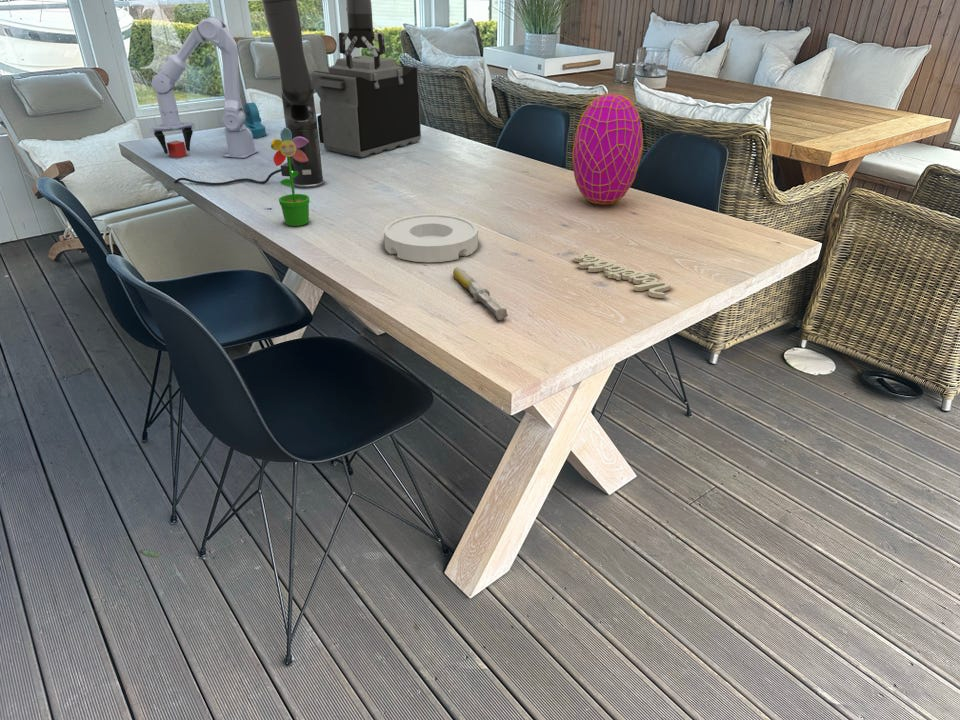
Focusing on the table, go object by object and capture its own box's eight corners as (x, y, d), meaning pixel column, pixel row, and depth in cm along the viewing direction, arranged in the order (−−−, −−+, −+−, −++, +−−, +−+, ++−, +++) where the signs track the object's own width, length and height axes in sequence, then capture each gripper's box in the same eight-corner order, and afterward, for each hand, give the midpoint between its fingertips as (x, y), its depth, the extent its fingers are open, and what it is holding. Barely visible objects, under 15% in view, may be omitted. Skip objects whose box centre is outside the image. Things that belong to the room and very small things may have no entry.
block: (187, 155, 243) (184, 141, 241) (177, 158, 240) (174, 144, 238) (179, 154, 245) (176, 140, 242) (169, 156, 242) (166, 142, 239)
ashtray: (391, 227, 181) (390, 212, 179) (479, 229, 180) (479, 214, 178) (377, 261, 161) (376, 245, 159) (476, 263, 160) (476, 247, 158)
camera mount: (228, 130, 277) (223, 103, 272) (254, 127, 282) (250, 100, 277) (243, 139, 265) (238, 110, 259) (269, 136, 270) (266, 108, 264)
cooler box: (383, 133, 276) (378, 52, 261) (425, 141, 265) (422, 56, 250) (314, 150, 251) (304, 61, 235) (358, 160, 240) (350, 67, 224)
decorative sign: (686, 282, 150) (660, 295, 144) (686, 286, 150) (659, 300, 144) (592, 249, 166) (565, 259, 160) (592, 253, 167) (565, 263, 161)
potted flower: (284, 229, 179) (270, 130, 166) (277, 220, 185) (263, 124, 172) (319, 224, 183) (308, 127, 170) (311, 215, 188) (300, 121, 176)
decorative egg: (611, 217, 189) (624, 103, 174) (555, 202, 201) (562, 94, 185) (647, 202, 202) (662, 94, 186) (592, 188, 213) (602, 86, 198)
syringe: (449, 274, 155) (449, 263, 153) (465, 272, 156) (464, 260, 154) (490, 323, 135) (491, 310, 133) (508, 319, 136) (508, 307, 134)
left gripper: (149, 115, 228) (158, 157, 235) (194, 111, 236) (201, 151, 243) (144, 112, 233) (153, 152, 240) (187, 107, 241) (195, 147, 248)
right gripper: (385, 11, 212) (388, 67, 220) (341, 10, 213) (345, 66, 222) (378, 12, 205) (382, 71, 213) (332, 12, 207) (338, 69, 215)
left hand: (177, 151), depth 242 cm, fingers open, 7 cm apart
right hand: (363, 68), depth 218 cm, fingers open, 8 cm apart
